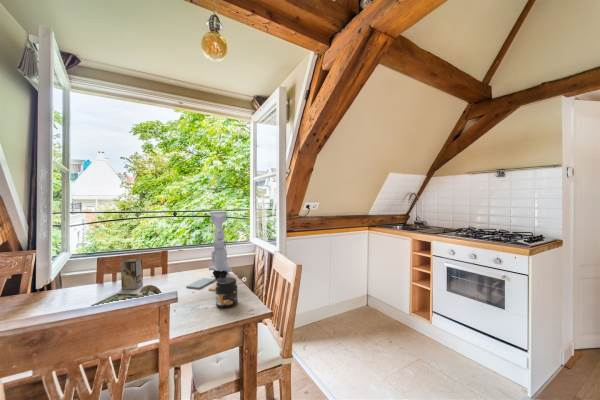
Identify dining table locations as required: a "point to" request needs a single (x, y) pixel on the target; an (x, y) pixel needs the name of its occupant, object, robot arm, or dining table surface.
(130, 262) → the coffee box
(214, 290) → the stub
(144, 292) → the olive sloped mound
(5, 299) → the dining table surface
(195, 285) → the board
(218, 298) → the supplement container
